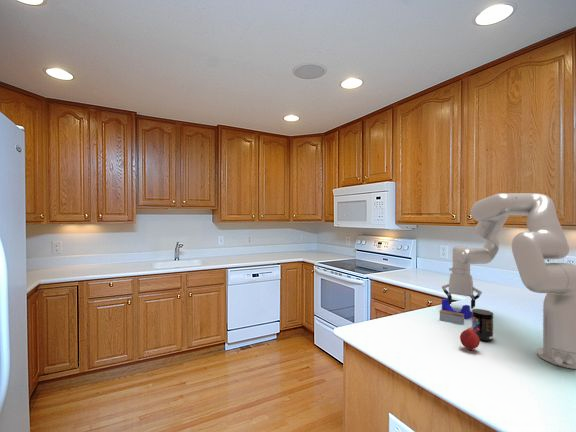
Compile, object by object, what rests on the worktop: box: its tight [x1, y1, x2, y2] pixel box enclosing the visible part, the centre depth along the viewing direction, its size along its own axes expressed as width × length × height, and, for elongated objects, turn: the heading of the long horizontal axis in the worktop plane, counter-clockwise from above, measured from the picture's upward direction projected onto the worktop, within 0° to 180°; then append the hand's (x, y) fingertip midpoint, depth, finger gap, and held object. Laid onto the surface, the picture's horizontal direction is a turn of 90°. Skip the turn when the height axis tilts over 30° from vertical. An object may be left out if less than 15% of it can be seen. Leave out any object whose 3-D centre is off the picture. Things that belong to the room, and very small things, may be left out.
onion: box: [459, 326, 481, 351], centre depth 100 cm, size 6×6×8 cm
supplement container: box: [471, 308, 494, 343], centre depth 109 cm, size 7×7×10 cm
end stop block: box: [439, 309, 465, 326], centre depth 127 cm, size 3×9×4 cm, turn 49°
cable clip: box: [441, 298, 472, 320], centre depth 136 cm, size 12×4×6 cm, turn 24°
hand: (461, 305), depth 143 cm, fingers open, 9 cm apart
